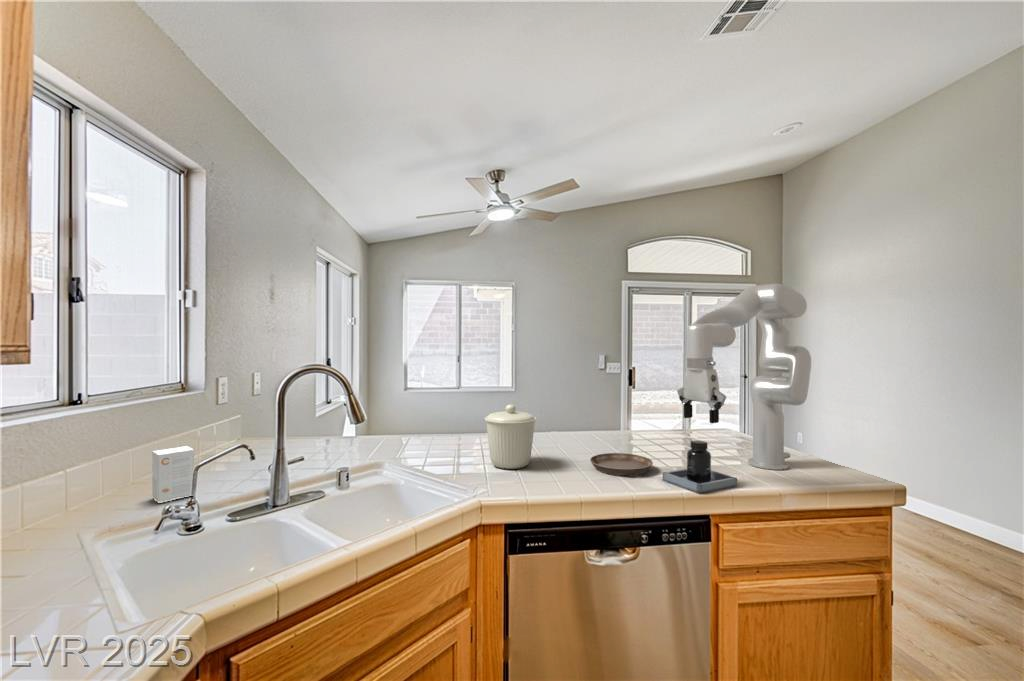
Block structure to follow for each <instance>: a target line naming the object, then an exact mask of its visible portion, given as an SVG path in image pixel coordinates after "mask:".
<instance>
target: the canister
mask: <svg viewBox="0 0 1024 681" xmlns="http://www.w3.org/2000/svg"><path fill="white" fill-rule="evenodd" d="M516 409H517V407H516V406H515V405H514V404H507V405H506V406H505V411H496V412H492V413H489V414H488V415H487V416H485V417H484V421H486V430H487V441H488V443H487V444H488V450H489V457H490V461H491V464H492V465H493V466H494V467H496V468H499V469H504V468H505V470H515V469H523V468H525V467H526V466H528V464H530V463H529V462H530V460H531V458H532V457H531V455H532V448H533V440H534V433H535V422H536V421H537V420H538V418H537V417H536V416H534V415H533V414H532V413H529V412H523V411H516Z"/></svg>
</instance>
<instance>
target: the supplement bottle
mask: <svg viewBox="0 0 1024 681" xmlns="http://www.w3.org/2000/svg"><path fill="white" fill-rule="evenodd" d="M689 447H690V449H688V450H687V452H686V469H687V479H688V480H689V481H692V482H695V483H698V484H701V483H706V482H710V481H711V470H712V454H711V452H710V451H709V450H708V442H707V441H704V440H695V439H694V440H690V446H689Z"/></svg>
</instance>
